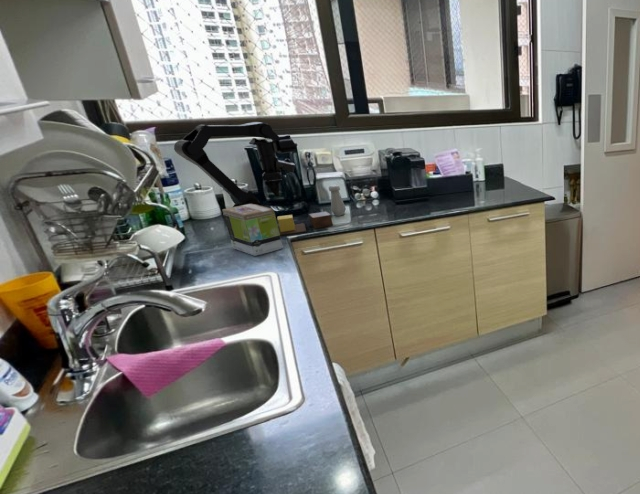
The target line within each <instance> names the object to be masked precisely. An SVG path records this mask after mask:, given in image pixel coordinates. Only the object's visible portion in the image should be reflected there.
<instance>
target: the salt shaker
mask: <svg viewBox="0 0 640 494" xmlns="http://www.w3.org/2000/svg"><path fill="white" fill-rule="evenodd" d="M340 190H341V187H340V185H338V184H330V185H328V191H329V192H330V211H331V213H332V214H333V215H334V216H340V217H341V216H344V215H345V213H346V209H347V208H346V205H345V203H344V200H343V198H342V195H341V192H340Z"/></svg>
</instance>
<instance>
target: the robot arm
mask: <svg viewBox="0 0 640 494" xmlns="http://www.w3.org/2000/svg"><path fill="white" fill-rule="evenodd" d="M233 136H235V137H238V136H242V137H243V136H246V137H247V136H248V137H253V138H251V140H250V141H249V142H248V144H249V145H252V146H256V151H257V155H258V159H259V163H260V166H261V170H262V174H261V176H262V180H263V182H264V183H265V184H266V186H267V187H268V189H270V191H271V192H272V193H273V195H274V196H275V197H279V196H280V186H279V185H280V183H281V182H282V181H283V177H282V171H286V172H289V173H294V172H295V168H296V167H295V165H296V164H295V163H294V162H292V161H291V159H289V158H285V159H284V160H279V159H278V158H279V157H278V156H277V154H287V153H294V152H296V150H297V145H296V143H295V142H294V141H295V140H293V138H291V135H289V134H284V135H278V133H276V132H275V131H274V130H273V128H272V126H271V125H270V124H268V123H267V122H260V121H252V122H247V123H242V124H231V125H229V124H215V125H214V124H211V125H210V124H208V125H207V124H198V125H197V126H195V127H194V129H193V130H192V131H190V132H189V133H187V134H186V135H185V136H184V137H183V138H182V139H179V140H177V141H175V143H174V146H173V150H174V152H175V153H176V154H177V155H179V156H180V157H182V158H183V159H184V160H186V161H187V162H190V163H192V164H194V165H195V166H197V167H198V168H199V169H200V170H201V171H202V172H203V173H205V174H206V175H207V176H208V177H209V178H210V179H211V180H212V181H214V182H215V184H216V185H218V186H219V187H220V188H221V189H223V190H224V191H225V192H226V193H227V194H228V195H229V197H230V199H231V201H232V202H233V206H232V207H237V206H242V205H247V204H255V205H259V206H261V202H260V201H259V196H256V195H255V194H254V193H253V191H252V190H250V189H247V188H243V187H242V188H240V187H239V186H238V185H237V184H236V183H235V182H234V181H233V180H232V179H231V178H230V177H228V175H226V174H225V172H223V171H222V170H221V169H220V168H219V167H218V166H217V165H216V164H215V163H214V162H212V161H211V160H210V158H209V155H208V154H207V152H206V151H205V150H204V148H205V147H206V146H207V144H208V142H209V141H210V139H211V137H233ZM258 138H260V139H258ZM261 138H262V139H261ZM276 153H277V154H276Z"/></svg>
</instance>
